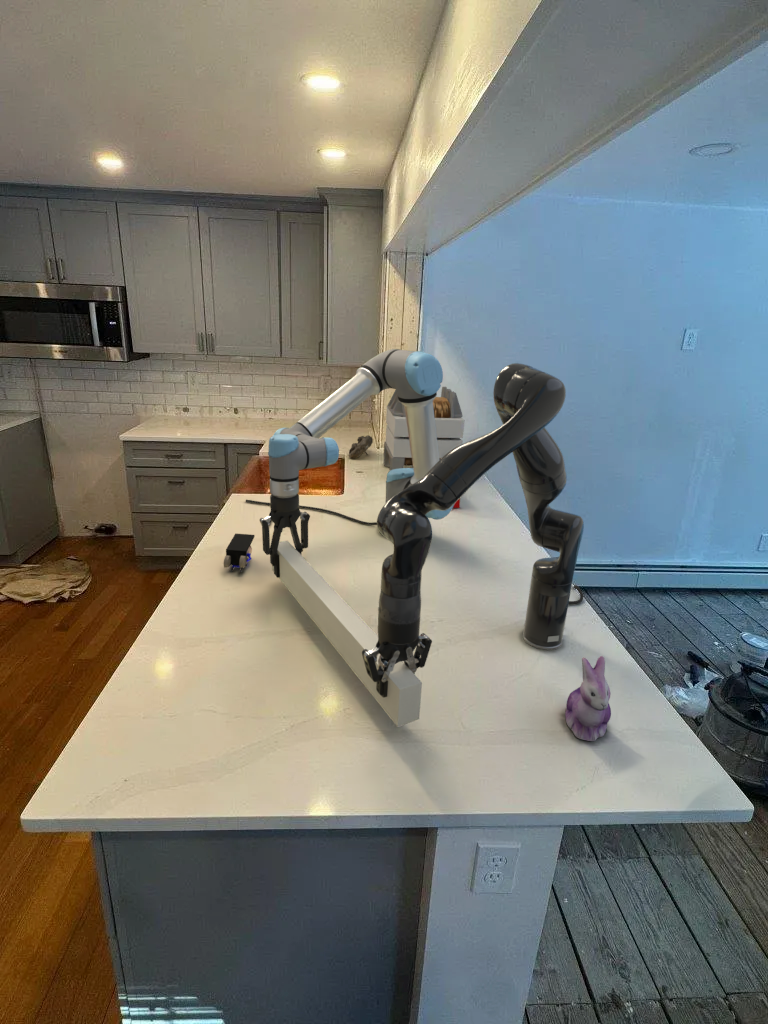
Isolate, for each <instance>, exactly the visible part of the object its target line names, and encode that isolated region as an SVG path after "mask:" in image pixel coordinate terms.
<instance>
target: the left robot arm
mask: <svg viewBox="0 0 768 1024" xmlns="http://www.w3.org/2000/svg"><path fill="white" fill-rule="evenodd" d="M443 377H444V372H443V368H442V364H441V363H440V361H439V359H438V358H437V357H436V356H434V355H433V354H430V353H427V352H424V351H420V350H418V351H415V350H405V349H401V348H400V349H399V348H392V349H388V350H385V351H382V352H379V353H378V354H377V355H375V356H374V357H372V358H370V359H368V360H367V361H366V362H365V363H363V364H362V365H361V366H359V367H358V368H357V369H356V372H355V375H354V376H353V377H352V378H350V379H349V380H347V382H345V383H344V384H343V385H342V386H340V387H339V388H338V389H336V390H335V391H334V392H332V393H331V394H330V395H328V397H326V398H325V399H324V400H323V401H322V402H321V403H319V404H318V405H317V406H315V407H314V408H313V409H312V410H311V411H309V412H308V413H307V414H306V415H304V416H302V417H301V418H300V419H299V420H298V421H296V423H295V422H294V424H292V425H291V426H290V427H280V428H278V429H277V430H276V431H275V432H274V433H273V435H271V436H270V437H269V439H268V452H267V456H268V468H269V469H268V470H269V493H270V496H269V502H268V501H267V502H265V501H259V500H258V501H257V500H252V499H245V503H251V504H256V505H263V506H269V507H270V508H269V509H270V511H269V514H268V515H267V516H266V517H260V518H259V522H260V525H261V534H262V535H261V538H262V551H263V553H264V554H265V555H266V556H270V557H269V562H270V565H271V567H272V566H274V571H273V574H274V576H275V577H276V578H277V579H279V577H280V562H279V555H278V553H277V549H278V545H279V542H280V540H281V535H282V533H283V529H286V528H289V531H290V535H291V538H292V542H293V546H294V548H295V549H296V550H297V551H298V552H299V553H300V554H301V555H302V556H303V554H302V553H303V552H304V549H307V548H309V521H310V518H311V515H310V513H308V512H307V511H301V510H300V509H306V510H313V511H319V512H324V513H327V514H331V515H336V516H338V517H342V518H344V519H346V520H350V521H353V522H356V523H359V524H361V525H367V526H377V521H374V522H373V521H372V522H370V521H369V522H368V521H363V520H360V519H357V518H354V517H352V516H348V515H345V514H344V513H340V512H337V511H333V510H331V509H325V508H319V507H316V506H315V507H314V506H306V505H300V495H299V492H300V471H303V470H309V469H316V468H321V467H327V466H331V465H334V464H336V463H337V461H338V460H339V456H340V448H339V445H338V443H337V441H336V440H335V439H334V438H332V437H330V436H329V437H324V435H325V434H326V433H327V432H329V431H330V430H331V429H332V428H334V426H336V425H337V424H338V423H339V422H341V421H342V420H343V419H344V418H346V417H347V416H349V414H350V413H352V411H354V410H356V409H357V408H358V407H359V406H361V404H362V403H363V402H365V401H366V400H368V399H369V398H370V397H372V396H377V395H379V394H380V393H382V392H383V391H384V390H388V389H393V390H396V389H397V395H398V401H399V402H400V403H402V404H403V405H404V407H405V414H406V421H407V428H408V435H409V442H410V449H411V456H412V463H413V466H412V467H404V468H399V469H393V470H391V471H390V470H388V472H387V475H386V480H385V503H384V505H385V504H386V503H387V502H388V501H389V500H390V499H391V498H392V497H394V496H395V495H397V494H398V493H400V492H401V491H403V490H404V489H406V488H407V487H409V486H410V485H412V484H414V483H416V482H417V481H419V480H421V479H422V478H423V477H424V476H425V475H426V473H428V471H429V470H430V469H431V468H432V467H433V466H434V465H435V464H436V463H437V462H438V461H439V452H438V444H437V435H436V427H435V418H434V410H433V400H434V399H435V398H436V397H438V393H437V392H438V391H439V390H440V388H442V385H441V384H442V383H443V380H444V378H443ZM453 506H454V505H453ZM453 506H452V507H450V508H449V509H448V510H445V511H441V510H432V511H430V512H428V513H427V514H425V515H426V516H427V518H428V519H432V520H436V521H439V520H442V519H444V518H445V517H447V516H448V515H449V514H450V513H451V512H452V509H454V508H453ZM299 519H300V536H299V532H298V527H297V524H296V523H297V521H298V520H299ZM271 520H272V521H271ZM270 521H271V522H272V523H273V532H272V536H271V540H270V525H271V523H270ZM378 533H379V534H380V535H381V536H383V535H382V534H381V533H380V531H379V530H378Z"/></svg>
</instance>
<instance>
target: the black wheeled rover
mask: <svg viewBox="0 0 768 1024" xmlns="http://www.w3.org/2000/svg"><path fill="white" fill-rule="evenodd" d="M253 540H255V534H247V533H235V534H234V535H233V537H232V538H231V539H230V542H229V544H228V546H227V547H226V549H225V556H224V558H223V567H224V568H230V569H229V572H230V573H233V571H234V569H235V568H238V569H240V570H239V573H243V570H244V569H245V568H246V567H247V565H248V563H249V562H250V561H252V557H251V556H252V552H253V548H252V546H251V544H252V543H253Z"/></svg>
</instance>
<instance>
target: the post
mask: <svg viewBox="0 0 768 1024" xmlns="http://www.w3.org/2000/svg"><path fill="white" fill-rule="evenodd" d="M277 553H278V555H279V562H280V577H278V579H279V580H280V581H281V583H282V584H283V585H284V586H285V588H286V589H287V590H288V591H289V593H290V594H291V596H293V598H294V599H295V600H296V601H297V603H298V604H299V605H300V607H301V608H302V609H303V610H304V611H305V612H306V614H307V615H308V617H309V618H310V619H311V620H312V621H313V622H314V624H315V625H316V626H317V628H318V629H319V630H320V631H321V633H322V634H323V635H324V637H325V638H326V639H327V641H329V643H330V644H331V645H332V646H333V648H334V649H335V651H336V652H337V653H338V654H339V655H340V657H341V658H342V659H343V660H344V662H345V663H346V664H347V666H349V668H350V669H351V671H352V672H353V673H354V674H355V675H356V677H357V678H358V679H359V681H360V682H361V683H362V684H363V686H364V687H365V688H366V690H367V691H368V692H369V693H370V695H372V697H373V698H374V699H375V701H376V702H377V703H378V705H380V707H381V708H382V709H383V711H384V712H385V714H387V716H388V717H389V718H390V720H392V722H393V723H394V725H395V726H396V727H397V728H399V727H402V726H404V725H407V724H410V723H412V722H415V721H418V720H420V714H421V702H422V701H421V700H422V687H423V682H422V681H421V680H420V678H419V677H418V676H417V675H416V673H415V674H414V673H413V672H412V671H411V670H410V669H409V668H408V667H407V666H406V665H405V664H404V661H400V662H398V663H396V664H395V665H394V668H393V671H391V672H390V674H389V676H388V679H387V681H388V690H387V697H384V698H383V697H382V696H381V695H380V694H379V693H378V692H377V690H376V682H374V681H373V680H372V679H371V678H370V676H369V675H368V674H367V671H366V667H365V664H364V660H363V656H362V651H363V650H364V649H367V650H368V651H370V650H371V649H373V648H375V647H376V644H377V642H378V633H376V632H375V631H374V630H373V629H372V628H371V627H370V626H369V625H368V624H367V622H365V621H364V619H362V617H361V616H360V615H359V614H358V613H357V612H356V611H355V610H354V609H353V607H351V606H350V605H349V604H348V603H347V601H345V599H344V598H343V597H342V596H341V595H340V594H339V593H338V592H337V591H336V590H335V588H333V587H332V586H331V585H330V583H329V582H328V581H327V580H326V579H325V578H324V577H323V575H321V574H320V573H319V572H318V571H317V570H316V569H315V568H314V567H313V565H311V563H310V562H309V561H307V559H305V557H304V556H303V554H302V555H301V554H300V553H299V552H298V551H297V550H296V548H295V546H294V545H292V543H291V542H289V540H282V541H279V545H278V549H277ZM271 571H273V572H274V566H272V565H271ZM379 657H380V654H378V655H377V662H375V664H376V668H377V667H378V659H379Z"/></svg>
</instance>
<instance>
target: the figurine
mask: <svg viewBox="0 0 768 1024" xmlns="http://www.w3.org/2000/svg"><path fill="white" fill-rule="evenodd" d="M581 669H582V682H580V683H581V684H580V686H579V687H577V688H575V689H574V690H573V691H571V692H570V693H569V694H568V696H567V700H566V708H565V713H564V716H565V722H566V726H568V727H569V729H570V730H571V731H572V732H573V735H574V736H575V737H576V738H578V739H580V740H584V741H586V742H587V741H588V742H595V741H597V740H598V738H602V737H604V736H605V734H606V731H607V728H608V723H609V722H610V720H611V717H612V709H611V705H610V699H611V688H610V686H609V684H608V681H607V679H606V675H605V670H606V659H605V656H603V655H601V656H599V657H598V658H597V660H596V662H595V665H594V667H593V666H592V664H591V663H590V660H589V659H587V658H586V657H582V658H581Z"/></svg>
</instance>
